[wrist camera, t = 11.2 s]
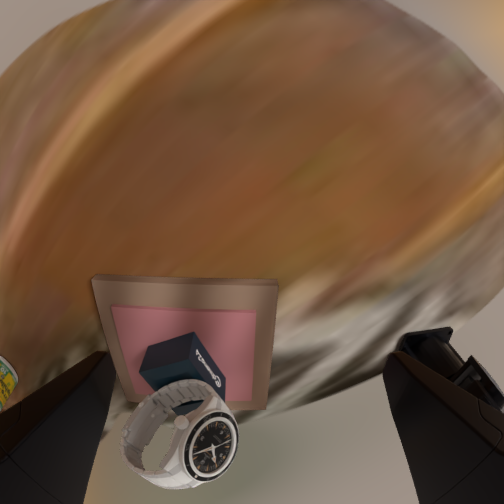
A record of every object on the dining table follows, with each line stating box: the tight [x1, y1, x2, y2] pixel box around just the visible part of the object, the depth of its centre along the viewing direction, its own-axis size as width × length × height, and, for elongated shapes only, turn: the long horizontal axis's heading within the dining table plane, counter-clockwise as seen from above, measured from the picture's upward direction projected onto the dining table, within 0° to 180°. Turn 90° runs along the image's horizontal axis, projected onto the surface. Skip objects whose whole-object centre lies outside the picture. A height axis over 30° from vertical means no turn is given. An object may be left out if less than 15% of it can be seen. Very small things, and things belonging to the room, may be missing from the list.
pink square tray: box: [91, 274, 279, 410], centre depth 23 cm, size 14×14×1 cm
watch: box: [120, 332, 239, 489], centre depth 17 cm, size 6×8×11 cm
